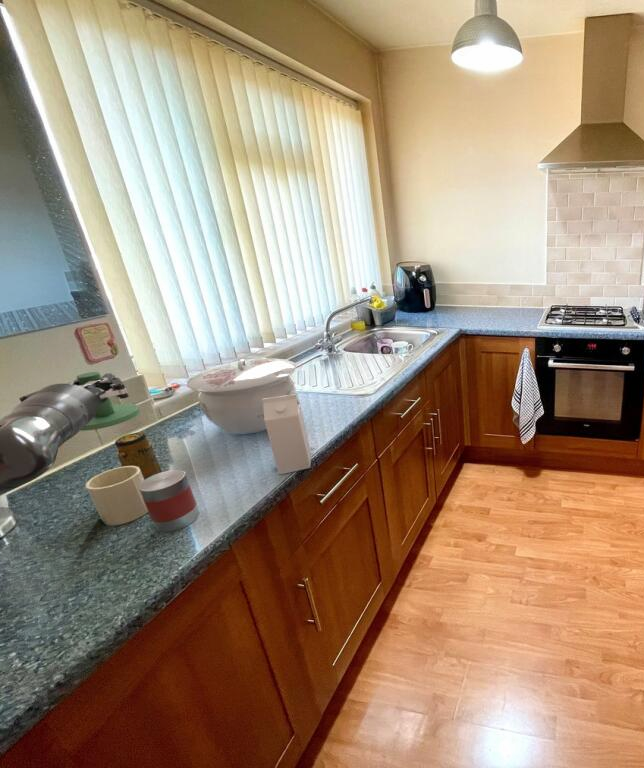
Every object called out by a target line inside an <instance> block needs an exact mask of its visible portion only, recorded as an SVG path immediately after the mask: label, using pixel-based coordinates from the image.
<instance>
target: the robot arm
mask: <svg viewBox="0 0 644 768" xmlns="http://www.w3.org/2000/svg"><path fill="white" fill-rule="evenodd" d="M108 397H110V398H112V397H115V398H117V399H118V398H119V399H127V398H129V397H130V396H129V393H128V391H127V388H126V386H125V383H124V382H123V381H122V380H121V379H120V377H116V375H115V374H112V372H107V373H104V374H103V375H101V378H100V379H99V380H97V381H89V382H87V383H86V384H84V385H80V384H79V382H78V379H77V378H76V379H75V380H73V381H69V382H66V383H54V384H50V385H47V386H45V387H43V388H41V389H40V390H37V391H34V392H31V393H29V394H26V395H22V396H20V397H19V398H18V399H19V401H20V403H18V404H17V405H16V406H14V407H13V408H12V410H11V411H10V412H8V413H7V414H5V415H4V416H2V417H1V418H0V497H1V496H3V495H5V494H7V493H9V492H11V491H13V490H15V489H19V488H20V487H23V486H24V485H26V484H29V483H30V482H32V481H34V480H36V479H38V478H39V477H41V476H42V475H44V474H45V473H47V472H48V471H49V470H50V469H51V468H52V467H53V466H54V464H55V462H56V459H57V455H58V453H59V449H60V448H61V447H62V446H63V445H64V444H65V443H66V442H67V441H69V440H70V439H72V438H73V437H75V436H76V435H77V434H78V433H80V432H81V431H80V430H81V429H82V428H83V427H84V426H85V425H86V424H87V423H88V422H89V421H90V420H91V419H92V418H93V417H94V416H95V415H96V413H97V411H98V408H99V405H100V404H101V403H103V402H105V401H107V400H108Z"/></svg>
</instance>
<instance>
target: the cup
mask: <svg viewBox="0 0 644 768" xmlns="http://www.w3.org/2000/svg"><path fill="white" fill-rule="evenodd" d="M143 481H144V478H143V475H142V473H141V470H140V468H139V467H137V466H123V467H122V466H119V467H115V468H110V469H109V470H105V471H103V472H100V473H99V474H96V475H95V476H93V477H92V478H89V480H88V481H87V482H86V483H85V488H86V490H87V492H88V495H89V496H90V498H91V501H92V503H93V505H94V507H95V509H96V511H97V514H98V515H99V517H100V520H101V521H102V523H103V524H105V525H106V526H119V525H123V524H127V523H130V522H133V521H135V520H138V519H140V518H142V517H144V516H145V515H147V514H149V512H148V510H147V507H146V505H145V503H144V500H143V497H142V495H141V492H140V490H139V485H140V484H141V483H142V482H143Z"/></svg>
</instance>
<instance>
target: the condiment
mask: <svg viewBox="0 0 644 768" xmlns="http://www.w3.org/2000/svg"><path fill="white" fill-rule="evenodd" d="M114 445H115V446H116V450H117V452H116V456H117V458H118V460H119V462H120V465H121V467H123V466H137V467H139V468H140V470H141V473H142V475H143V478H144V480H145V479H147V478H149V477H151V476H153V475H155V474H158V473H161V472H163V471H162V469H161V466H160V463H159V460H158V458H157V455H156V453H155V451H154V450H155V449H154V447H153V445H152V443H150V442H149V439H148V438H147V435H146V434H145V433H143V432H131V433H128V434H125V435H122V436H119V437H118V438H117V439H116V440H115V441H114Z"/></svg>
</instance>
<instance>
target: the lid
mask: <svg viewBox="0 0 644 768" xmlns="http://www.w3.org/2000/svg"><path fill="white" fill-rule="evenodd" d="M101 377H102V375H101V372H99V371H90V372H85V373H81V374H78V375H76V380H77V379H78V382H79V384H80V385H84V384H86V383H87V382H89V381H97V380H99V379H100V378H101ZM140 411H141V410H140V408H139V406H138V405H137V404H134V403H117V404H113V402H112V399H111V397H108V400H107V401H105V402H103V403H101V404H100V405H99V408H98V411H97V413H96V415H95V416H94V417H93V418H92V419H91V420H90V421H89V422H88V423H87V424H86V425H85V426H84V427H83V428H82V429H81V430H80V431H79V432H82V431H83V432H84V431H85V432H87V431H93V430H95V431H96V430H100V429H104V428H109V427H113V426H117V425H120V424H122V423H124V422H128V421H129V420H131V419H134V418H135V417H137V416H138V415H139V414H140Z"/></svg>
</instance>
